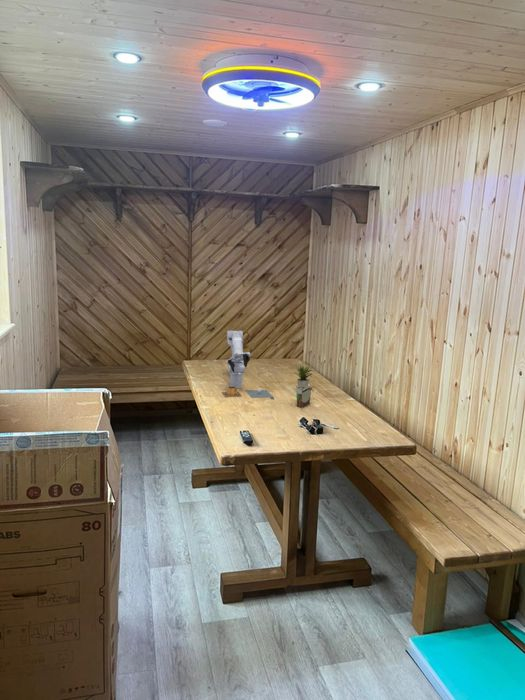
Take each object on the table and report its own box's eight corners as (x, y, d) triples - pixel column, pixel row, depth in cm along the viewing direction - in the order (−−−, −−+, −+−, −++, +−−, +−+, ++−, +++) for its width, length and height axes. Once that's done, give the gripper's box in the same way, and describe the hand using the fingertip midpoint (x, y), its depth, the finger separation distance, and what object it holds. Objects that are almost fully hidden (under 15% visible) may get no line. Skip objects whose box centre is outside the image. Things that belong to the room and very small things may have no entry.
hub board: (244, 392, 321) (245, 384, 320) (266, 391, 324) (266, 384, 323) (251, 400, 304) (251, 392, 303) (273, 399, 307) (274, 391, 306)
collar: (226, 393, 312) (226, 386, 311) (235, 393, 313) (235, 386, 312) (227, 395, 306) (227, 388, 306) (237, 395, 308) (237, 388, 307)
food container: (300, 402, 303) (301, 384, 301) (310, 404, 300) (311, 386, 298) (290, 406, 292) (291, 388, 291) (300, 408, 289) (301, 390, 287)
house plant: (311, 393, 322) (312, 366, 320) (288, 391, 327) (289, 364, 324) (316, 388, 336) (318, 362, 333) (295, 386, 340) (296, 360, 337)
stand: (221, 394, 315) (221, 386, 314) (238, 393, 317) (238, 386, 316) (224, 399, 303) (224, 391, 302) (242, 398, 305) (242, 391, 305)
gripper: (223, 351, 315) (224, 368, 305) (246, 343, 312) (247, 359, 302) (229, 359, 320) (230, 376, 310) (251, 351, 316) (253, 367, 306)
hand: (239, 368), depth 306 cm, fingers open, 7 cm apart
